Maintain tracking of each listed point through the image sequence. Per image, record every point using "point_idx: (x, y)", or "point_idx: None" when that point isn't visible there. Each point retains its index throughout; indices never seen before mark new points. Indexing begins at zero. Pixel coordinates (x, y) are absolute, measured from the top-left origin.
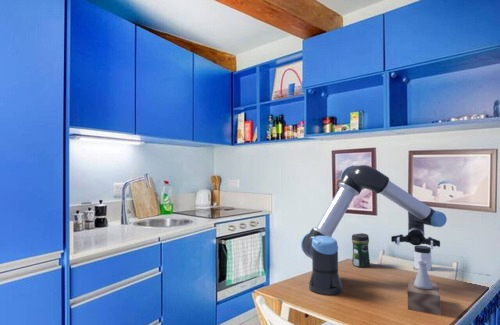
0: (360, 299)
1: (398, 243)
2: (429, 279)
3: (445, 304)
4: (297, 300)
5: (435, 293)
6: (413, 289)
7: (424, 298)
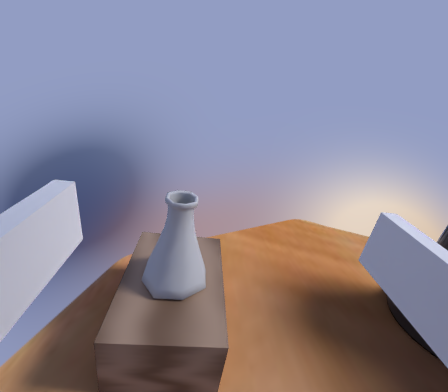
0: (325, 291)
1: (367, 246)
2: (157, 242)
3: (91, 350)
4: None
5: (149, 241)
6: (205, 250)
7: None
